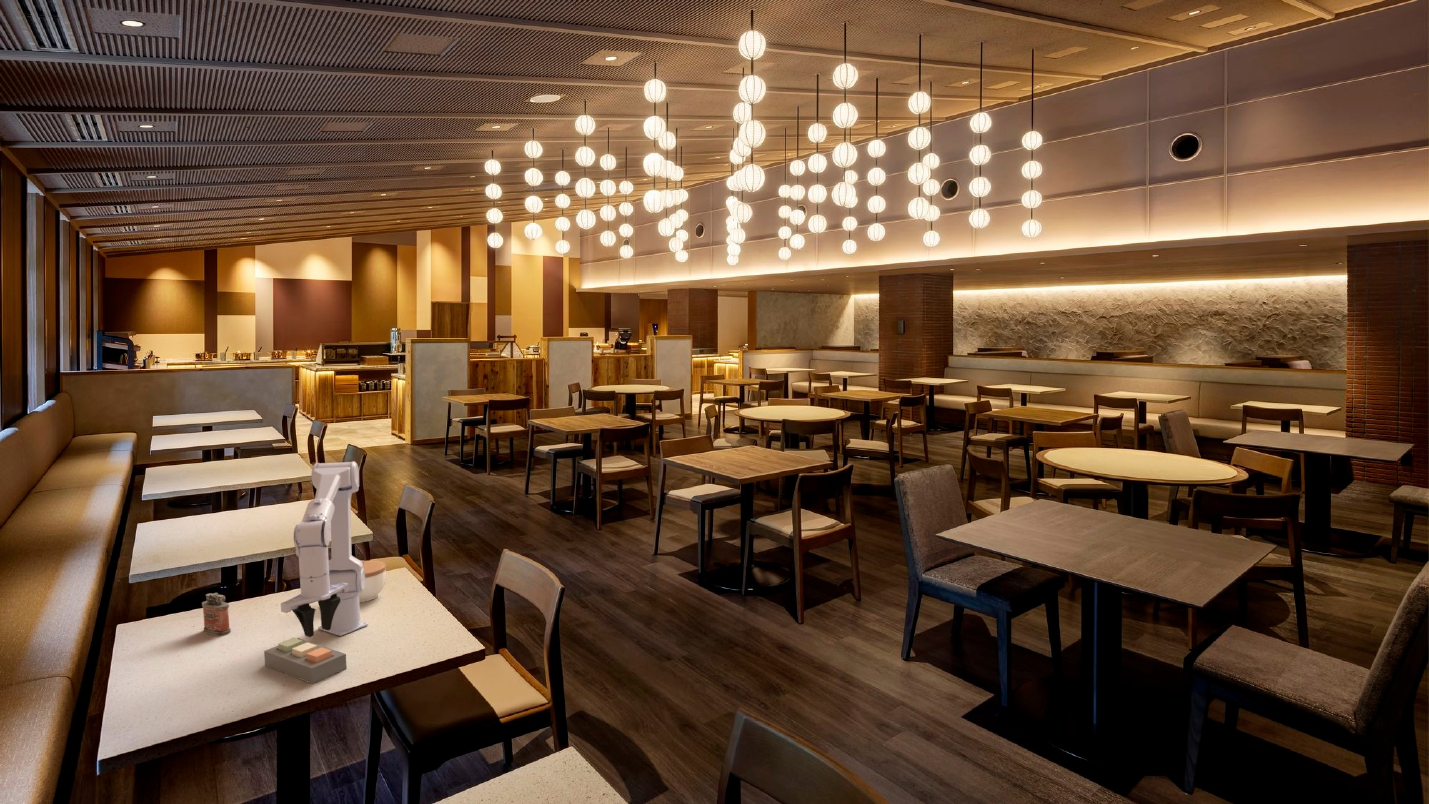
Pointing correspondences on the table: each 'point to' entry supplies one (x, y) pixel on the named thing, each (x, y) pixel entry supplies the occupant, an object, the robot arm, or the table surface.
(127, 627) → the table surface
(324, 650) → the terracotta key
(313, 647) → the cream key
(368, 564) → the lidded bowl
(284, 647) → the sage key
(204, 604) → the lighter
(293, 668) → the keypad
